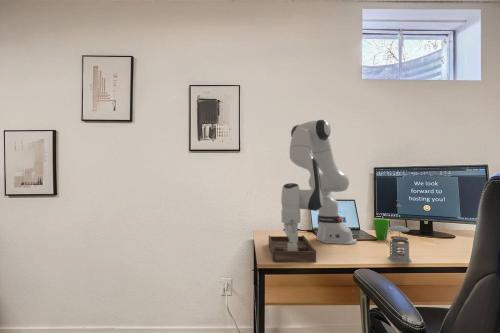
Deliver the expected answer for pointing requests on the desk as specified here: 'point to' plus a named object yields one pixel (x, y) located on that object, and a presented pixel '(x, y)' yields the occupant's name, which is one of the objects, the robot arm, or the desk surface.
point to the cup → (381, 228)
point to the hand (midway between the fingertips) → (291, 247)
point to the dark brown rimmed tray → (283, 255)
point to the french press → (399, 245)
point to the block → (292, 246)
